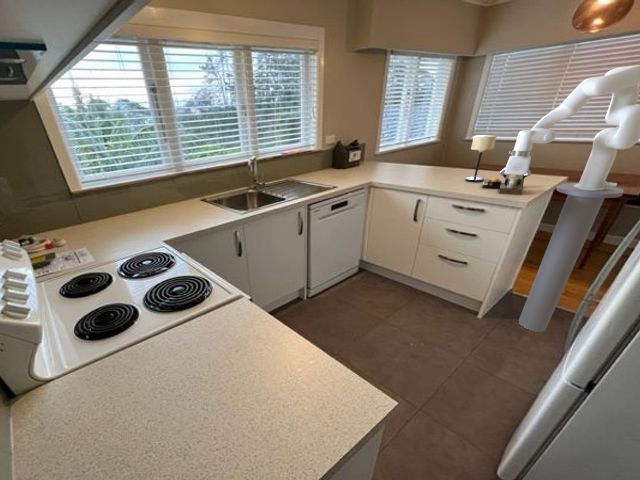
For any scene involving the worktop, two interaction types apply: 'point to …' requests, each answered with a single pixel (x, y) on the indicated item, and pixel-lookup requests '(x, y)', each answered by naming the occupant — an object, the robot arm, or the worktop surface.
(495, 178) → the lamp button
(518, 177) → the olive upright piece
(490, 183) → the switch block
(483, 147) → the lamp
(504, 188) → the dimmer panel
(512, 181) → the dimmer knob
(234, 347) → the worktop surface
